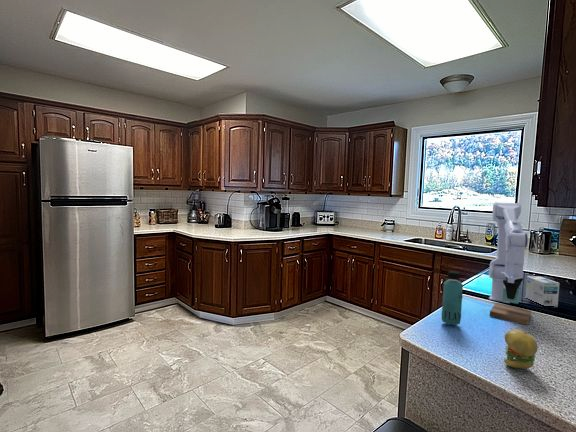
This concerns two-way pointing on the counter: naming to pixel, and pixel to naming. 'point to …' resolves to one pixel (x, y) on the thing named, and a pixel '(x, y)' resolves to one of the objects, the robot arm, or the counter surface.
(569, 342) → the counter surface
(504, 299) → the teal cube
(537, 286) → the light bulb box
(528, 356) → the hamburger
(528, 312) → the walnut base
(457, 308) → the beverage bottle
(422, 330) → the counter surface
